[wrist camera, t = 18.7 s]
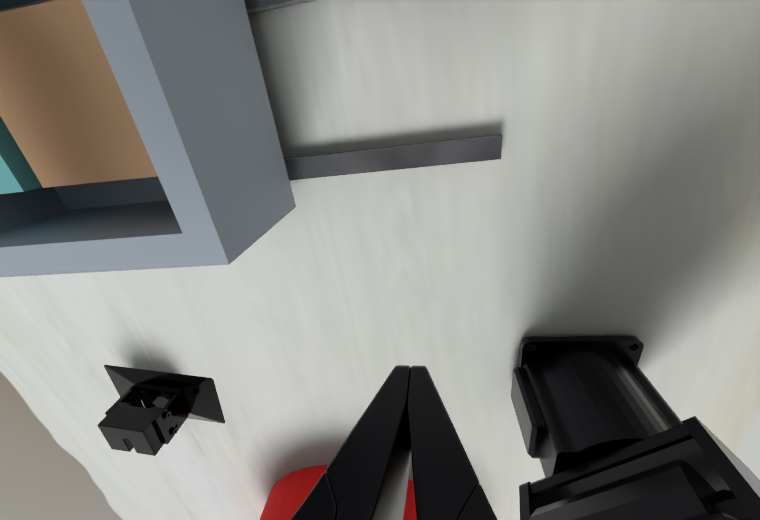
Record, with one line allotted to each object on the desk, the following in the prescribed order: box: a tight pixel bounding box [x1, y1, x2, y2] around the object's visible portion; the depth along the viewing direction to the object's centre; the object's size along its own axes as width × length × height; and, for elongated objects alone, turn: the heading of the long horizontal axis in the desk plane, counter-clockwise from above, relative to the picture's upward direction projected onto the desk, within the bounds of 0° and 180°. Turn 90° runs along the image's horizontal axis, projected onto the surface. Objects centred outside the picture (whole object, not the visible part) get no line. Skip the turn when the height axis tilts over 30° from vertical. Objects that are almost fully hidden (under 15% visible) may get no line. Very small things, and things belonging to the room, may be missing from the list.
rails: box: [244, 0, 502, 180], centre depth 15 cm, size 23×8×1 cm, turn 97°
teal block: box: [0, 116, 42, 194], centre depth 12 cm, size 4×4×4 cm
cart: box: [0, 0, 296, 277], centre depth 12 cm, size 13×12×7 cm
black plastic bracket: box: [98, 365, 225, 456], centre depth 25 cm, size 12×7×5 cm, turn 88°
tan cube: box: [0, 0, 158, 188], centre depth 11 cm, size 4×4×4 cm
